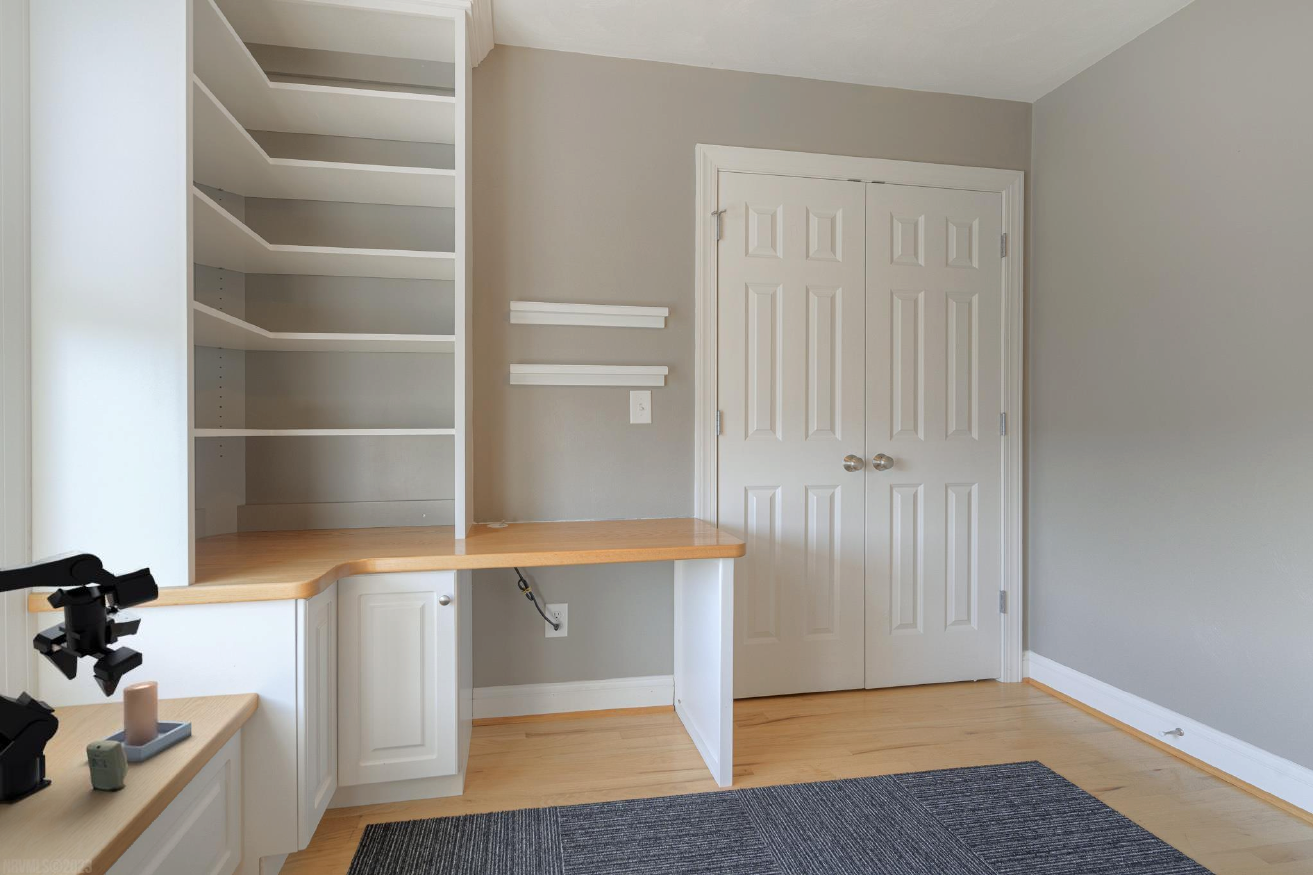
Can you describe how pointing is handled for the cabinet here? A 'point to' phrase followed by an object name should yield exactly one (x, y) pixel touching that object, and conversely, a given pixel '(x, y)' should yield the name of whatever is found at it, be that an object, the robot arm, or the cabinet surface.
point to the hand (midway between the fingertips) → (91, 686)
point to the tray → (166, 737)
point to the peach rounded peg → (140, 713)
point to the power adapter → (107, 765)
